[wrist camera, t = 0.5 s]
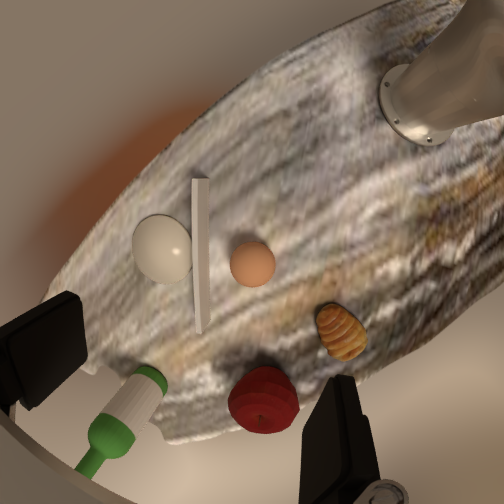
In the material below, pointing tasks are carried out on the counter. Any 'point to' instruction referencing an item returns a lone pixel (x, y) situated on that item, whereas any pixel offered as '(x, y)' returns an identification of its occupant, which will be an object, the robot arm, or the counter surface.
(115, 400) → the wine bottle
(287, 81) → the counter surface
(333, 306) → the pastry
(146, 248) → the saucer
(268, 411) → the apple
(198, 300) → the wall
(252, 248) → the ball
